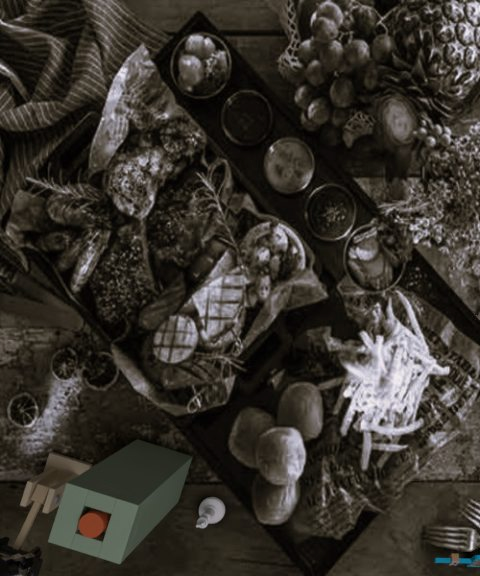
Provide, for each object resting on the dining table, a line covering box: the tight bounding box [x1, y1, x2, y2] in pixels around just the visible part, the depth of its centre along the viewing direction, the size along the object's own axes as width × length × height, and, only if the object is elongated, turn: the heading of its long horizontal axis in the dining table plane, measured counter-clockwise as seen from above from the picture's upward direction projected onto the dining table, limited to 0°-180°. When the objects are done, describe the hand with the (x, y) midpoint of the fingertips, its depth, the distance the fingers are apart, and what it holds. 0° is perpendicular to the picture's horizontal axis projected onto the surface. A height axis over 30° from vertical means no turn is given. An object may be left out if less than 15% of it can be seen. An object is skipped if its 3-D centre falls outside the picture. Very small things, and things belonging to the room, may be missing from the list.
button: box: [79, 508, 110, 538], centre depth 111 cm, size 4×4×3 cm
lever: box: [0, 484, 50, 556], centre depth 132 cm, size 12×5×2 cm, turn 162°
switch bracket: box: [19, 451, 93, 515], centre depth 138 cm, size 9×8×12 cm
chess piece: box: [195, 496, 226, 529], centre depth 139 cm, size 5×5×10 cm
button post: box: [47, 438, 194, 565], centre depth 127 cm, size 11×9×33 cm
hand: (21, 547), depth 132 cm, fingers closed on lever, 5 cm apart
